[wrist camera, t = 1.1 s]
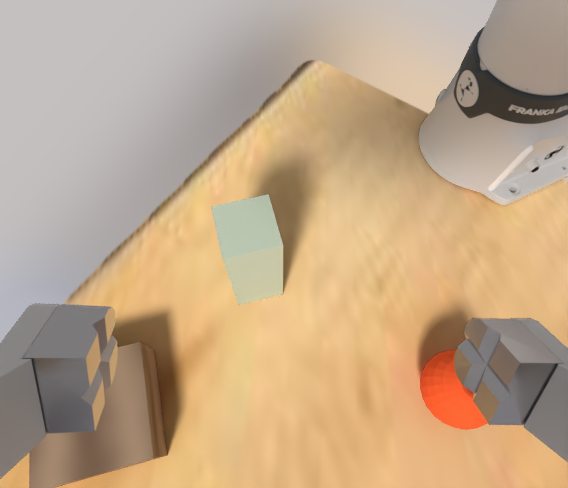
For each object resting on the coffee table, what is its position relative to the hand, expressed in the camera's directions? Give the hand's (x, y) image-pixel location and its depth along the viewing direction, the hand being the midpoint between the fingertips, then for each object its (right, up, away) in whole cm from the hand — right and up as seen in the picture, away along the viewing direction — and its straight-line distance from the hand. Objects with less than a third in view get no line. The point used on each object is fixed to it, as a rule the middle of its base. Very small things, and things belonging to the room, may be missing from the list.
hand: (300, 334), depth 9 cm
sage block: (-3, -2, +36) cm, 36 cm away
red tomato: (+16, -12, +31) cm, 37 cm away
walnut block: (-17, -15, +30) cm, 38 cm away
